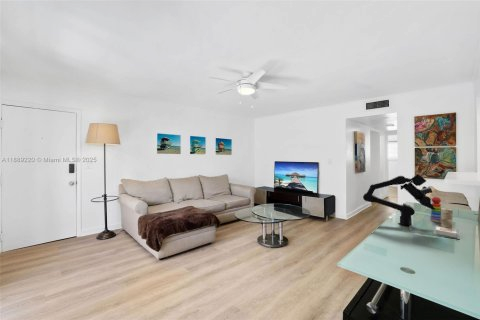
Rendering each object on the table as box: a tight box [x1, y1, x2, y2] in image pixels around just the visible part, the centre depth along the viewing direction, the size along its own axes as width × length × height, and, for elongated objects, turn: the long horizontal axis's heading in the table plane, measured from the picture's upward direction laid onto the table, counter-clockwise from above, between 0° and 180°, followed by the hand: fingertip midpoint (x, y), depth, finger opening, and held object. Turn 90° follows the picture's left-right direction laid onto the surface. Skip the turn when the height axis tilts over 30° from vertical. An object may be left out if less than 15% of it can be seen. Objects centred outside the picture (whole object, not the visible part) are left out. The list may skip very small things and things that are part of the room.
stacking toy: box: [429, 196, 442, 223], centre depth 162 cm, size 8×8×19 cm
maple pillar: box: [440, 207, 454, 229], centre depth 144 cm, size 5×5×13 cm
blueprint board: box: [432, 224, 461, 241], centre depth 139 cm, size 24×12×4 cm, turn 136°
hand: (432, 208), depth 147 cm, fingers open, 9 cm apart
